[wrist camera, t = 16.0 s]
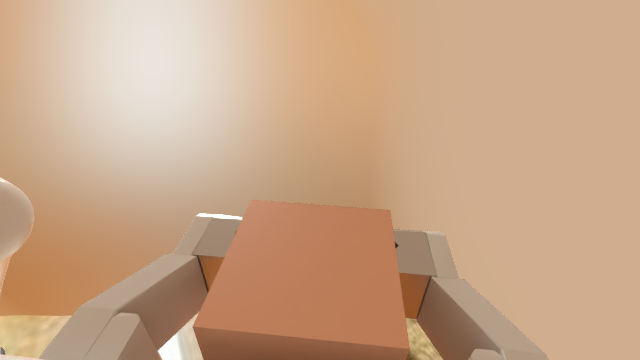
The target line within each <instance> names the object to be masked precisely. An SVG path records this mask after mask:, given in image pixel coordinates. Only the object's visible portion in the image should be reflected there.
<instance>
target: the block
mask: <svg viewBox="0 0 640 360" xmlns="http://www.w3.org/2000/svg"><path fill="white" fill-rule="evenodd" d="M193 329H194V332H195V335H196V338H197V341H198V344H199V347H200V350H201V353H202V356H203V359H204V360H406V359H407V356H408V353H409V350H410V348H409V340H408V333H407V326H406V319H405V312H404V305H403V298H402V291H401V283H400V276H399V269H398V262H397V255H396V248H395V241H394V234H393V227H392V219H391V213H390V210H382V209H368V208H353V207H341V206H327V205H314V204H300V203H287V202H274V201H259V200H251V202H250V204H249V206H248V208H247V210H246V212H245V215H244V217H243V219H242V221H241V223H240V225H239V228H238V230H237V232H236V234H235V236H234V238H233V240H232V243H231V245H230V247H229V249H228V251H227V253H226V256H225V258H224V260H223V262H222V264H221V266H220V269H219V271H218V273H217V275H216V277H215V279H214V281H213V284H212V286H211V288H210V290H209V292H208V294H207V297H206V299H205V301H204V303H203V305H202V307H201V310H200V312H199V314H198V316H197V318H196V320H195V323H194V325H193Z"/></svg>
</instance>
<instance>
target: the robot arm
mask: <svg viewBox="0 0 640 360" xmlns="http://www.w3.org/2000/svg"><path fill="white" fill-rule="evenodd" d="M242 219H243V217H235V216H225V215H212V214H202V213H200V214H198V215H197V216H196V217H195V218H194V220H193V222H192V223H191V225H190V226H189V228H188V230H187V231H186V233H185V234H184V236H183V237H182V239H181V241H180V242H179V244H178V245H177V247H176V249H175V250H174V252H173V253H172V254H169V253H167V254H165V255H164V256H162V257H161V258H159V259H157V260H155V261H154V262H152V263H151V264H149V265H147V266H146V267H144V268H142V269H141V270H139V271H138V272H136V273H134V274H133V275H131V276H129V277H128V278H126V279H124V280H123V281H121V282H119V283H118V284H116V285H114V286H113V287H111V288H109V289H108V290H106V291H105V292H103V293H101V294H100V295H98V296H96V297H95V298H93V299H91V300H90V301H88V302H86V303H85V304H83V305H82V306H80V307H79V308H78V309H77V311H76V312H75V313H74V314H73V316H72V317H71V318H70V319H69V321H68V322H67V323H66V324H65V326H64V327H63V328H62V329H61V331H60V332H59V333H58V334H57V336H56V337H55V338H54V339H53V341H52V342H51V343H50V344H49V346H48V347H47V348H46V350H45V351H44V352H43V353H42V355H41V356H40V357H39V358H38V359H37V358H29V357H20V356H11V355H5V351H4V349H3V348H1V347H0V360H162V358H161V356H160V354H159V353H158V350H159V349H160V348H161V347H162V346H163V345H164V344H165V343H166V342H167V341H168V340H169V339H170V338H171V337H172V336H174V335H175V334H176V333H177V332H178V331H179V330H180V329H181V328H182V327H183V326H184V325H185V324H186V323H187V322H188V321H189V320H190V319H192V318H193V317H194V316H195V315H196V314H197V313H198V312H199V311H200V310H201V307H202V305H203V303H204V301H205V299H206V297H207V294H208V292H209V290H210V288H211V286H212V284H213V281H214V279H215V277H216V275H217V273H218V271H219V269H220V266H221V264H222V262H223V260H224V258H225V256H226V253H227V251H228V249H229V247H230V245H231V243H232V240H233V238H234V236H235V234H236V232H237V230H238V228H239V225H240V223H241V221H242ZM33 223H34V211H33V207H32V204H31V202H30V200H29V199H28V197H27V196H26V195H25V194H24V193H23V192H22V191H21V190H20V189H18V188H17V187H15V186H14V185H12V184H11V183H9V182H8V181H6V180H4V179H2V178H1V177H0V295H1V289H2V285H3V280H4V277H5V273H6V270H7V267H8V264H9V261H10V258H11V255H12V254H13V253H14V252H16V251H17V250H18V249H19V248H20V247H21V246H22V245H23V243H24V242H25V241H26V240H27V238H28V236H29V234H30V232H31V230H32V227H33ZM393 234H394V241H395V248H396V255H397V262H398V269H399V276H400V283H401V291H402V298H403V305H404V312H405V318H411V319H417V322H418V323H419V325H420V326H421V328H422V329H423V331H424V332H425V333H426V335H427V336H428V338H429V339H430V341H431V342H432V344H433V345H434V346H435V348H436V349H437V351H438V352H439V354H440V355H441V356H442V358H443V359H444V360H548V357H547V355H546V354H545V353H544V352H543V351H542V350H541V349H540V348H539V347H537V346H536V345H535V344H534V343H533V342H532V341H531V340H530V339H529V338H528V337H527V336H526V335H524V334H523V333H522V332H521V331H520V330H519V329H518V328H517V327H516V326H515V325H514V324H513V323H511V322H510V321H509V320H508V319H507V318H506V317H505V316H504V315H503V314H502V313H501V312H500V311H498V310H497V309H496V308H495V307H494V306H493V305H492V304H491V303H490V302H489V301H488V300H487V299H485V298H484V297H483V296H482V295H481V294H480V293H479V292H478V291H477V290H476V289H475V288H473V287H472V286H471V285H470V284H469V283H468V282H467V281H466V280H465V279H459V277H458V274H457V271H456V268H455V265H454V262H453V258H452V255H451V252H450V249H449V246H448V243H447V240H446V237H445V234H444V233H443V232H432V231H414V230H400V229H393Z"/></svg>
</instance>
